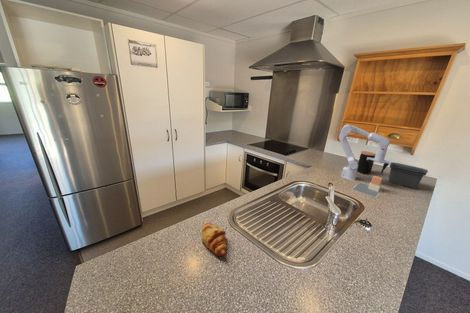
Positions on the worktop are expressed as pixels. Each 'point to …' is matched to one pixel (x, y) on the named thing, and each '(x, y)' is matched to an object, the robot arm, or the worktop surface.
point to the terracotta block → (376, 180)
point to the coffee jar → (365, 162)
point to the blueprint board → (368, 189)
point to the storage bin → (406, 175)
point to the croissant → (214, 238)
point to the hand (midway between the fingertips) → (375, 171)
